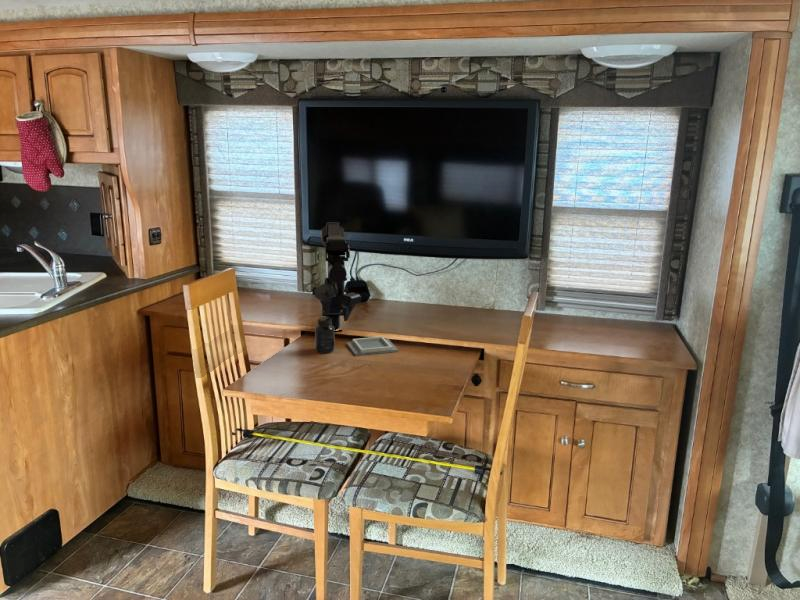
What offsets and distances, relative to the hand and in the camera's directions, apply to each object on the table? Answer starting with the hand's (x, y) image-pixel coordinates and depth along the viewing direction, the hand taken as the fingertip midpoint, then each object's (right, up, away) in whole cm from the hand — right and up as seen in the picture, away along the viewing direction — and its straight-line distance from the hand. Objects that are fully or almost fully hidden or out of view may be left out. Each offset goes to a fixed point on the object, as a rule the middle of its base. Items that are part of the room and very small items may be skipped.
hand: (336, 318), depth 213 cm
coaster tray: (+12, -11, +8) cm, 18 cm away
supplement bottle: (-5, -12, +5) cm, 14 cm away
